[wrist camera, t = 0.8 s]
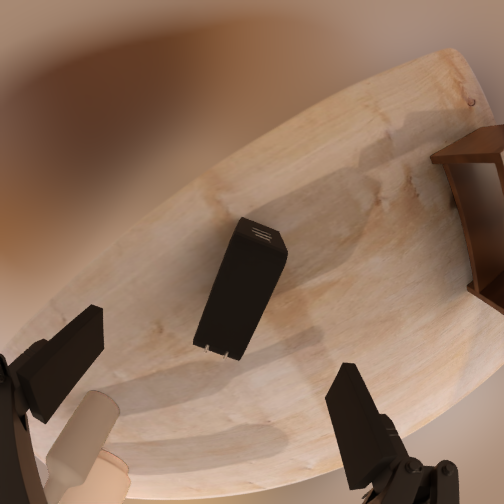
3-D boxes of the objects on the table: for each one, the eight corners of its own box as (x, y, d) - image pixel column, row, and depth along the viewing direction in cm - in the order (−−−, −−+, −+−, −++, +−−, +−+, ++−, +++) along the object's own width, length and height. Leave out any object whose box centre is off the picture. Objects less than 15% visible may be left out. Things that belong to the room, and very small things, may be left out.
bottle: (127, 414, 36) (67, 546, 9) (104, 419, 37) (46, 534, 10) (101, 387, 35) (22, 518, 8) (80, 394, 36) (7, 507, 9)
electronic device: (279, 230, 29) (290, 255, 19) (244, 311, 31) (238, 365, 21) (241, 215, 28) (233, 232, 19) (209, 298, 31) (190, 348, 21)
